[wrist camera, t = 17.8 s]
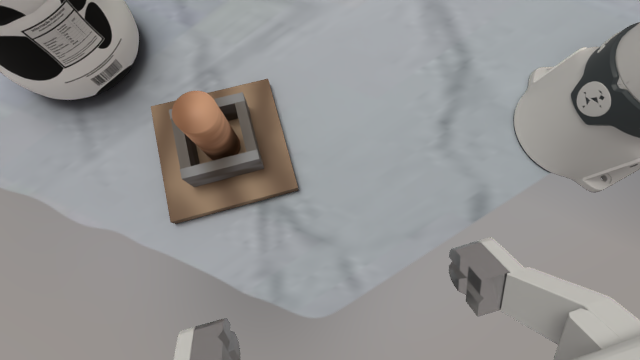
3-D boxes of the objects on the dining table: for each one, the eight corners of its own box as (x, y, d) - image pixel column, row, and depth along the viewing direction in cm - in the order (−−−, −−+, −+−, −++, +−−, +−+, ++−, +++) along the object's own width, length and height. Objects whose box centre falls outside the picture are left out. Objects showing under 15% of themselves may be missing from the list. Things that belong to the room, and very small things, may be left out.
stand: (269, 84, 46) (263, 61, 41) (298, 190, 42) (296, 179, 37) (156, 111, 45) (135, 90, 40) (175, 223, 41) (155, 217, 36)
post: (235, 125, 43) (211, 85, 33) (244, 156, 42) (221, 124, 32) (201, 135, 43) (167, 98, 33) (209, 166, 41) (176, 137, 32)
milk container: (44, 0, 49) (-103, -145, 32) (159, 9, 49) (76, -131, 32) (8, 104, 45) (-186, 2, 27) (134, 114, 45) (22, 17, 27)
